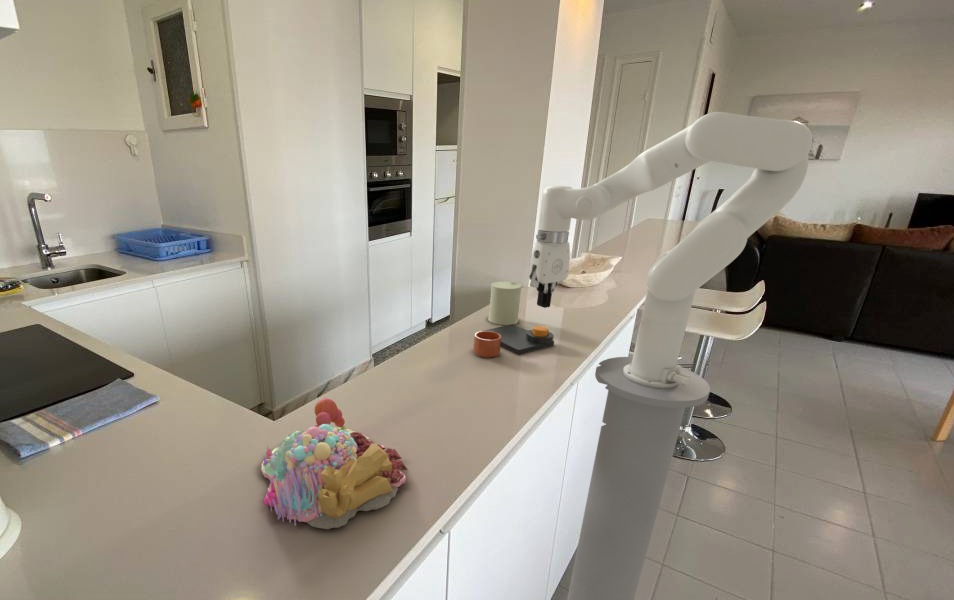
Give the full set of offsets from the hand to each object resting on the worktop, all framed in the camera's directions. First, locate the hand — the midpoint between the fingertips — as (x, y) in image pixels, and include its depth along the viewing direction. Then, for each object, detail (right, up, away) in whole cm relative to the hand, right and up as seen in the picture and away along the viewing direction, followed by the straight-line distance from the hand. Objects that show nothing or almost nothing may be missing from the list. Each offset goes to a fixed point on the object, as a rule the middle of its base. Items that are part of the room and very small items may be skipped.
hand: (543, 306), depth 128 cm
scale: (-6, -9, +6) cm, 13 cm away
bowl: (-16, -13, -2) cm, 20 cm away
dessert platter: (-52, -32, -50) cm, 79 cm away
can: (-5, -3, +23) cm, 23 cm away
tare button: (0, -8, +3) cm, 8 cm away
